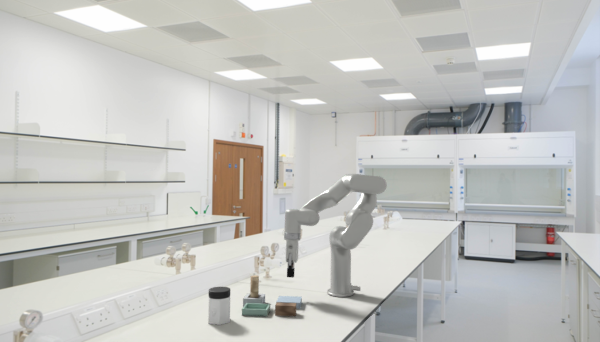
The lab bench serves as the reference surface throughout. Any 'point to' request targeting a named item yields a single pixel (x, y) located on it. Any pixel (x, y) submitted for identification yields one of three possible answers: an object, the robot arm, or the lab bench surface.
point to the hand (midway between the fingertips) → (290, 276)
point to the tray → (256, 309)
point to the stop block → (285, 309)
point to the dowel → (254, 286)
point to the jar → (219, 305)
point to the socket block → (254, 299)
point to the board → (290, 300)
